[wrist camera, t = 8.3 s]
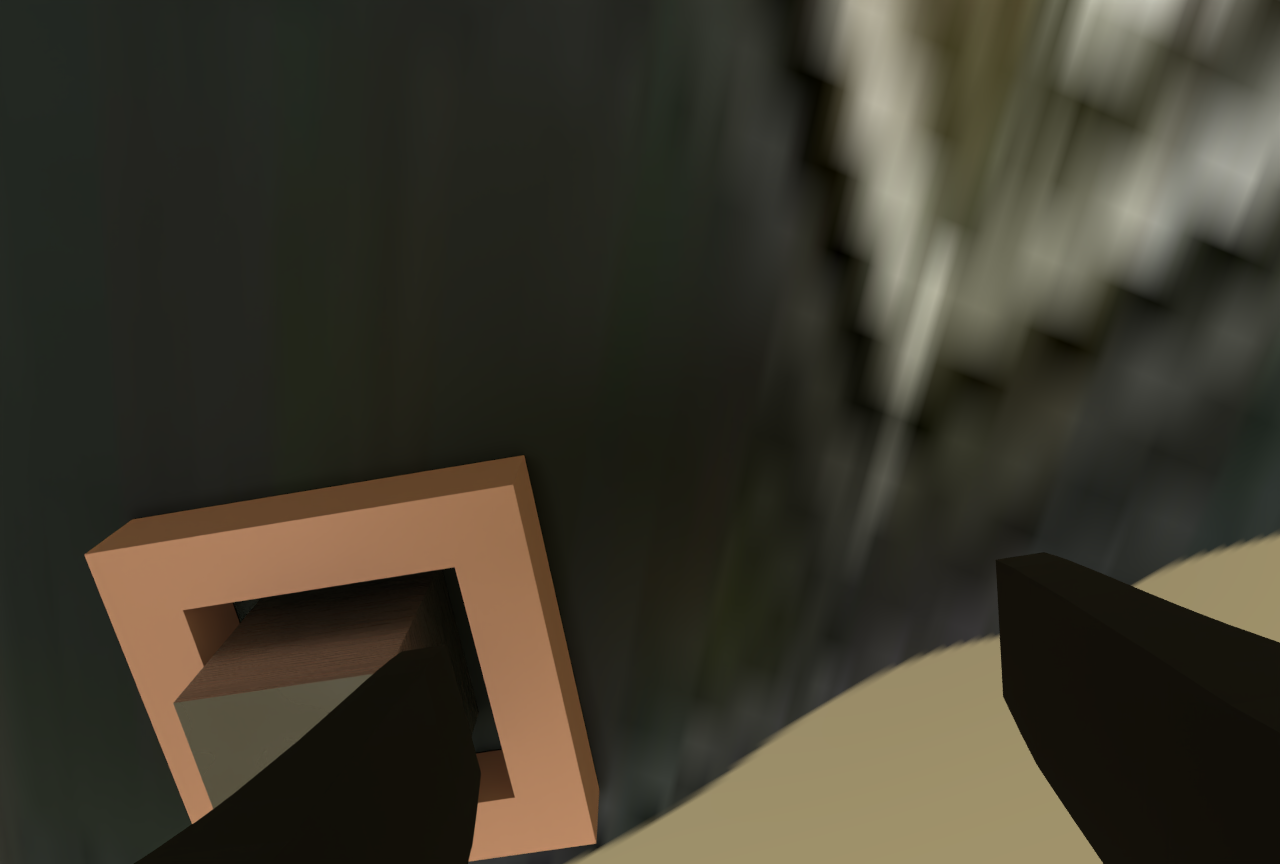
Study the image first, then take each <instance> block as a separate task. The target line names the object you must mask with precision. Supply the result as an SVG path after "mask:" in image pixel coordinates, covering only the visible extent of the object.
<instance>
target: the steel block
mask: <svg viewBox="0 0 1280 864" xmlns="http://www.w3.org/2000/svg"><path fill="white" fill-rule="evenodd" d="M440 645H446V646H447V649H448V653H449V657H450V660H451V664H452V668H453V671H454V675H455V679H456V682H457V686H458V690H459V693H460V697H461V701H462V704H463V708H464V712H465V715H466V719H467V723H468V726H469V730H470V734H471V737H472V733H473V730H474V726H475V723H476V719H477V716H478V712H479V711H478V707H477V703H476V700H475V696H474V692H473V688H472V684H471V680H470V676H469V672H468V668H467V665H466V661H465V657H464V653H463V649H462V645H461V641H460V637H459V633H458V629H457V626H456V622H455V618H454V614H453V610H452V606H451V602H450V598H449V594H448V591H447V587H446V583H445V579H444V575H443V571H442V569H439V570H433V571H427V572H421V573H414V574H408V575H402V576H395V577H389V578H383V579H376V580H370V581H364V582H358V583H351V584H345V585H339V586H332V587H326V588H320V589H313V590H307V591H301V592H294V593H288V594H282V595H276V596H269V597H263V598H261V599H260V600H259V601H258V603H257V604H256V605H255V606H254V607H253V609H252V610H251V611H250V612H249V613H248V615H247V616H246V617H245V618H244V619H243V621H242V622H241V623H240V624H239V625H238V626H237V628H236V629H235V630H234V631H233V632H232V634H231V635H230V636H229V637H228V638H227V640H226V641H225V642H224V643H223V644H222V646H221V647H220V648H219V649H218V650H217V651H216V653H215V654H214V655H213V656H212V657H211V659H210V660H209V661H208V662H207V663H206V665H205V666H204V667H203V668H202V669H201V671H200V672H199V673H198V674H197V675H196V677H195V678H194V679H193V680H192V681H191V682H190V684H189V685H188V686H187V687H186V688H185V690H184V691H183V692H182V693H181V694H180V696H179V697H178V698H177V699H176V700H175V702H174V703H173V704H174V707H175V709H176V712H177V715H178V717H179V720H180V722H181V725H182V728H183V730H184V733H185V736H186V738H187V741H188V744H189V746H190V749H191V752H192V754H193V757H194V759H195V762H196V765H197V767H198V770H199V773H200V775H201V778H202V781H203V783H204V786H205V788H206V791H207V794H208V796H209V799H210V802H211V804H212V807H213V809H214V808H215V807H217V806H218V805H219V804H221V803H222V802H223V801H225V800H226V799H227V798H228V797H230V796H231V795H232V794H234V793H235V792H236V791H237V790H239V789H240V788H241V787H242V786H244V785H245V784H246V783H247V782H248V781H250V780H251V779H252V778H253V777H255V776H256V775H257V774H258V773H259V772H261V771H262V770H263V769H264V768H265V767H267V766H268V765H269V764H270V763H272V762H273V761H274V760H275V759H276V758H278V757H279V756H280V755H281V754H283V753H284V752H285V751H286V750H287V749H289V748H290V747H291V746H292V745H294V744H295V743H296V742H297V741H298V740H299V739H301V738H302V737H303V736H304V735H305V734H306V733H307V732H309V731H310V730H311V729H312V728H313V727H314V726H315V725H316V724H318V723H319V722H320V721H321V720H322V719H323V718H324V717H325V716H327V715H328V714H329V713H330V712H331V711H332V710H333V709H334V708H336V707H337V706H338V705H339V704H340V703H341V702H342V701H343V700H345V699H346V698H347V697H348V696H349V695H350V694H351V693H352V692H353V691H355V690H356V689H357V688H358V687H359V686H360V685H361V684H362V683H364V682H365V681H366V680H367V679H368V678H369V677H370V676H371V675H373V674H374V673H375V672H376V671H377V670H378V669H380V668H381V667H382V666H383V665H384V664H386V663H387V662H388V661H389V660H391V659H392V658H393V657H395V656H396V655H397V654H399V653H400V652H402V651H408V650H414V649H421V648H427V647H434V646H440Z"/></svg>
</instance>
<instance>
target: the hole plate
mask: <svg viewBox="0 0 1280 864" xmlns="http://www.w3.org/2000/svg"><path fill="white" fill-rule="evenodd" d="M84 555H85V558H86V560H87V563H88V565H89V568H90V570H91V573H92V575H93V578H94V580H95V583H96V585H97V588H98V590H99V593H100V595H101V598H102V600H103V603H104V605H105V608H106V610H107V613H108V615H109V618H110V620H111V622H112V625H113V627H114V630H115V632H116V635H117V637H118V640H119V642H120V645H121V647H122V650H123V652H124V655H125V657H126V660H127V662H128V665H129V667H130V670H131V672H132V675H133V677H134V680H135V682H136V685H137V687H138V690H139V692H140V695H141V697H142V700H143V702H144V705H145V707H146V710H147V712H148V715H149V717H150V720H151V722H152V725H153V727H154V730H155V732H156V735H157V737H158V740H159V742H160V745H161V747H162V750H163V752H164V755H165V757H166V760H167V762H168V765H169V767H170V770H171V772H172V775H173V777H174V780H175V782H176V785H177V787H178V790H179V792H180V795H181V797H182V800H183V802H184V805H185V807H186V810H187V812H188V815H189V817H190V820H191V822H192V824H193V823H195V822H196V821H198V820H199V819H200V818H202V817H203V816H204V815H206V814H207V813H208V812H210V811H211V810H213V807H212V804H211V802H210V799H209V796H208V794H207V791H206V788H205V786H204V783H203V781H202V778H201V775H200V773H199V770H198V767H197V765H196V762H195V759H194V757H193V754H192V752H191V749H190V746H189V744H188V741H187V738H186V736H185V733H184V730H183V728H182V725H181V722H180V720H179V717H178V715H177V712H176V709H175V707H174V704H173V703H174V702H175V700H176V699H177V698H178V697H179V696H180V694H181V693H182V692H183V691H184V690H185V688H186V687H187V686H188V685H189V684H190V682H191V681H192V680H193V679H194V678H195V677H196V675H197V674H198V673H199V672H200V671H201V669H202V668H203V667H204V666H205V665H206V663H207V662H208V661H209V660H210V659H211V657H212V656H213V655H214V654H215V653H216V651H217V650H218V649H219V648H220V647H221V646H222V644H223V643H224V642H225V641H226V640H227V638H228V637H229V636H230V635H231V634H232V632H233V631H234V630H235V629H236V628H237V626H238V625H239V624H240V623H239V620H238V617H237V614H236V611H235V609H234V606H233V603H232V602H238V601H244V600H250V599H257V598H263V597H269V596H276V595H282V594H288V593H294V592H301V591H307V590H313V589H320V588H326V587H332V586H339V585H345V584H351V583H358V582H364V581H370V580H376V579H383V578H389V577H395V576H402V575H408V574H414V573H421V572H427V571H433V570H439V569H446V568H452V567H455V570H456V574H457V578H458V581H459V585H460V589H461V593H462V597H463V601H464V604H465V608H466V612H467V616H468V620H469V624H470V627H471V631H472V635H473V639H474V643H475V647H476V650H477V654H478V658H479V662H480V666H481V670H482V673H483V677H484V681H485V685H486V689H487V693H488V696H489V700H490V704H491V708H492V712H493V716H494V719H495V723H496V727H497V731H498V735H499V739H500V742H501V746H502V750H497V751H490V752H483V753H477V754H476V756H477V760H478V763H479V767H480V771H481V779H480V788H479V798H478V807H477V815H476V823H475V830H474V837H473V845H472V849H471V853H470V857H469V861H476V860H483V859H490V858H497V857H504V856H511V855H518V854H525V853H532V852H539V851H546V850H553V849H560V848H567V847H575V846H582V845H589V844H596V837H597V820H598V804H599V786H598V781H597V777H596V773H595V768H594V764H593V759H592V755H591V750H590V746H589V741H588V737H587V732H586V728H585V724H584V719H583V715H582V710H581V706H580V701H579V697H578V692H577V688H576V684H575V679H574V675H573V670H572V666H571V661H570V657H569V652H568V648H567V643H566V639H565V635H564V630H563V626H562V621H561V617H560V612H559V608H558V603H557V599H556V595H555V590H554V586H553V581H552V577H551V572H550V568H549V563H548V559H547V555H546V550H545V546H544V541H543V537H542V532H541V528H540V523H539V519H538V514H537V510H536V506H535V501H534V497H533V492H532V488H531V483H530V479H529V474H528V470H527V466H526V461H525V457H524V455H522V456H516V457H509V458H503V459H497V460H491V461H485V462H479V463H473V464H467V465H461V466H455V467H449V468H443V469H436V470H430V471H424V472H418V473H412V474H406V475H400V476H394V477H388V478H382V479H376V480H370V481H363V482H357V483H351V484H345V485H339V486H333V487H327V488H321V489H315V490H309V491H303V492H297V493H290V494H284V495H278V496H272V497H266V498H260V499H254V500H248V501H242V502H236V503H230V504H224V505H217V506H211V507H205V508H199V509H193V510H187V511H181V512H175V513H169V514H163V515H157V516H151V517H145V518H138V519H132V520H131V521H129V522H128V523H127V524H125V525H124V526H123V527H121V528H120V529H119V530H117V531H116V532H114V533H113V534H112V535H110V536H109V537H108V538H106V539H105V540H103V541H102V542H101V543H99V544H98V545H97V546H95V547H94V548H93V549H91V550H90V551H88V552H87V553H86V554H84ZM469 861H468V862H469Z"/></svg>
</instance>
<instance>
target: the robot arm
mask: <svg viewBox="0 0 1280 864" xmlns="http://www.w3.org/2000/svg"><path fill="white" fill-rule="evenodd" d="M996 573H997V591H998V610H999V628H1000V646H1001V664H1002V683H1003V697H1004V699H1005V701H1006V703H1007V705H1008V707H1009V710H1010V712H1011V714H1012V716H1013V717H1014V720H1015V722H1016V724H1017V726H1018V728H1019V730H1020V732H1021V735H1022V737H1023V738H1024V740H1025V742H1026V744H1027V746H1028V748H1029V750H1030V752H1031V754H1032V756H1033V758H1034V760H1035V762H1036V764H1037V765H1038V767H1039V768H1040V770H1041V771H1042V773H1043V775H1044V776H1045V778H1046V779H1047V781H1048V782H1049V784H1050V785H1051V787H1052V788H1053V790H1054V791H1055V793H1056V794H1057V796H1058V797H1059V799H1060V800H1061V802H1062V803H1063V805H1064V806H1065V808H1066V809H1067V811H1068V812H1069V814H1070V815H1071V817H1072V818H1073V820H1074V821H1075V823H1076V824H1077V825H1078V827H1079V828H1080V830H1081V831H1082V833H1083V834H1084V836H1085V837H1086V839H1087V840H1088V841H1089V843H1090V844H1091V846H1092V847H1093V849H1094V850H1095V852H1096V853H1097V855H1098V856H1099V858H1100V859H1101V861H1102V862H1103V864H1280V643H1279V642H1276V641H1274V640H1271V639H1268V638H1265V637H1262V636H1259V635H1256V634H1254V633H1251V632H1248V631H1245V630H1242V629H1240V628H1237V627H1234V626H1231V625H1228V624H1226V623H1223V622H1220V621H1218V620H1215V619H1212V618H1209V617H1207V616H1204V615H1202V614H1199V613H1197V612H1194V611H1192V610H1189V609H1186V608H1184V607H1181V606H1179V605H1176V604H1174V603H1171V602H1169V601H1167V600H1164V599H1162V598H1159V597H1157V596H1154V595H1152V594H1149V593H1147V592H1145V591H1142V590H1140V589H1137V588H1135V587H1133V586H1130V585H1128V584H1125V583H1123V582H1121V581H1118V580H1116V579H1113V578H1111V577H1109V576H1106V575H1104V574H1101V573H1099V572H1097V571H1094V570H1092V569H1089V568H1087V567H1084V566H1082V565H1079V564H1077V563H1074V562H1071V561H1069V560H1066V559H1063V558H1061V557H1058V556H1055V555H1051V554H1048V553H1044V552H1043V553H1037V554H1031V555H1024V556H1018V557H1011V558H1005V559H998V560H996ZM480 779H481V771H480V767H479V763H478V760H477V756H476V752H475V748H474V745H473V741H472V737H471V734H470V730H469V726H468V723H467V719H466V715H465V712H464V708H463V704H462V701H461V697H460V693H459V690H458V686H457V682H456V679H455V675H454V671H453V668H452V664H451V660H450V657H449V653H448V649H447V646H446V645H440V646H434V647H427V648H421V649H414V650H408V651H402V652H400V653H399V654H397V655H396V656H395V657H393V658H392V659H391V660H389V661H388V662H387V663H386V664H384V665H383V666H382V667H381V668H380V669H378V670H377V671H376V672H375V673H374V674H373V675H371V676H370V677H369V678H368V679H367V680H366V681H365V682H364V683H362V684H361V685H360V686H359V687H358V688H357V689H356V690H355V691H353V692H352V693H351V694H350V695H349V696H348V697H347V698H346V699H345V700H343V701H342V702H341V703H340V704H339V705H338V706H337V707H336V708H334V709H333V710H332V711H331V712H330V713H329V714H328V715H327V716H325V717H324V718H323V719H322V720H321V721H320V722H319V723H318V724H316V725H315V726H314V727H313V728H312V729H311V730H310V731H309V732H307V733H306V734H305V735H304V736H303V737H302V738H301V739H299V740H298V741H297V742H296V743H295V744H294V745H292V746H291V747H290V748H289V749H287V750H286V751H285V752H284V753H283V754H281V755H280V756H279V757H278V758H276V759H275V760H274V761H273V762H272V763H270V764H269V765H268V766H267V767H265V768H264V769H263V770H262V771H261V772H259V773H258V774H257V775H256V776H255V777H253V778H252V779H251V780H250V781H248V782H247V783H246V784H245V785H244V786H242V787H241V788H240V789H239V790H237V791H236V792H235V793H234V794H232V795H231V796H230V797H228V798H227V799H226V800H225V801H223V802H222V803H221V804H219V805H218V806H217V807H215V808H214V809H213V810H211V811H210V812H208V813H207V814H206V815H204V816H203V817H202V818H200V819H199V820H198V821H196V822H195V823H193V824H192V825H190V826H189V827H188V828H186V829H185V830H183V831H182V832H180V833H179V834H177V835H176V836H175V837H173V838H172V839H170V840H169V841H167V842H166V843H164V844H163V845H162V846H160V847H159V848H157V849H156V850H154V851H153V852H151V853H150V854H148V855H147V856H145V857H144V858H142V859H141V860H139V861H137V862H136V863H134V864H468V861H469V857H470V853H471V849H472V845H473V837H474V830H475V823H476V815H477V807H478V798H479V788H480Z"/></svg>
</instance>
